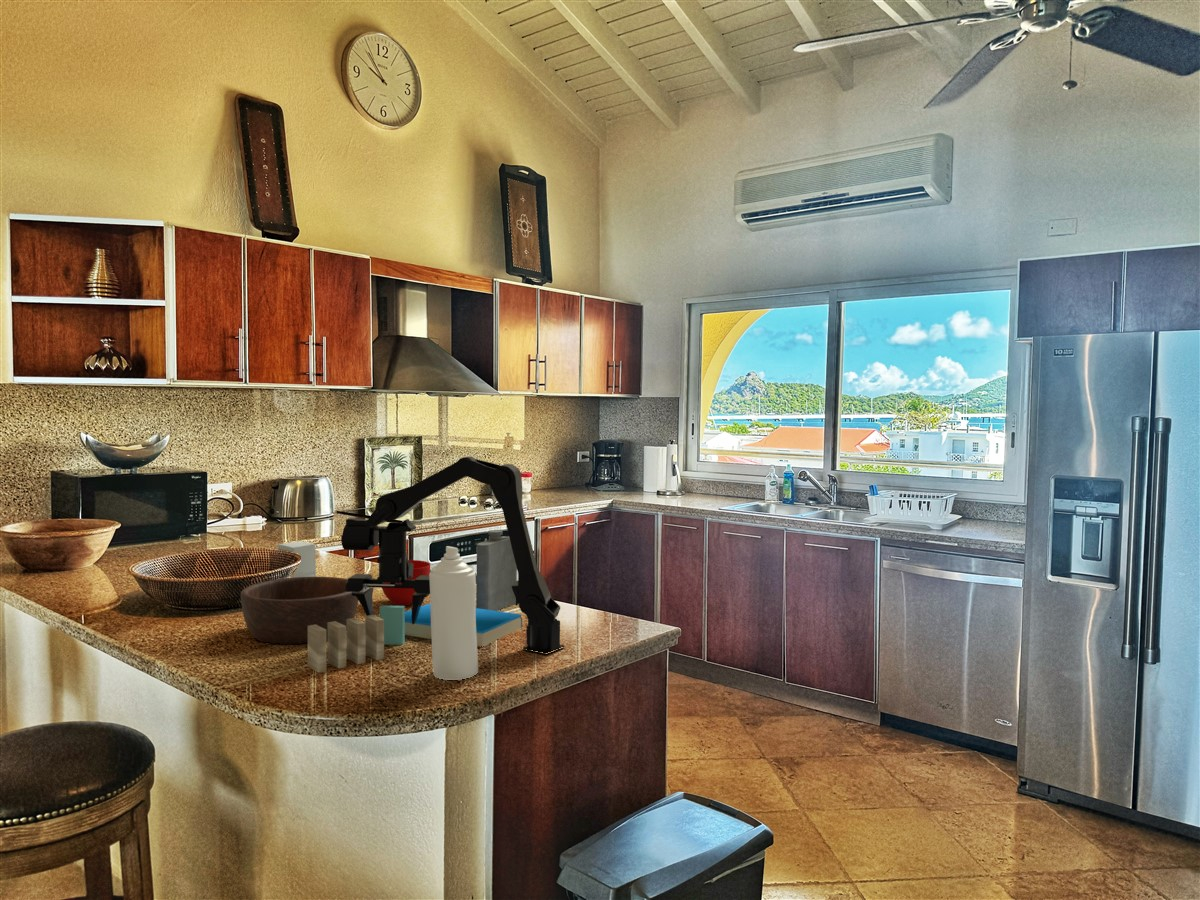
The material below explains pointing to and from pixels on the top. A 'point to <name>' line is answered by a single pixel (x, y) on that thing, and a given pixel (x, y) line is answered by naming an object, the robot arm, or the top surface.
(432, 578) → the spray can
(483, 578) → the hip flask
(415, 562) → the ceramic cup
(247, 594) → the wooden bowl
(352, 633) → the domino
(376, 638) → the domino
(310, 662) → the domino
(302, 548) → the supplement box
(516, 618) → the book
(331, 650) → the domino
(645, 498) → the top surface
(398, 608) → the teal domino
